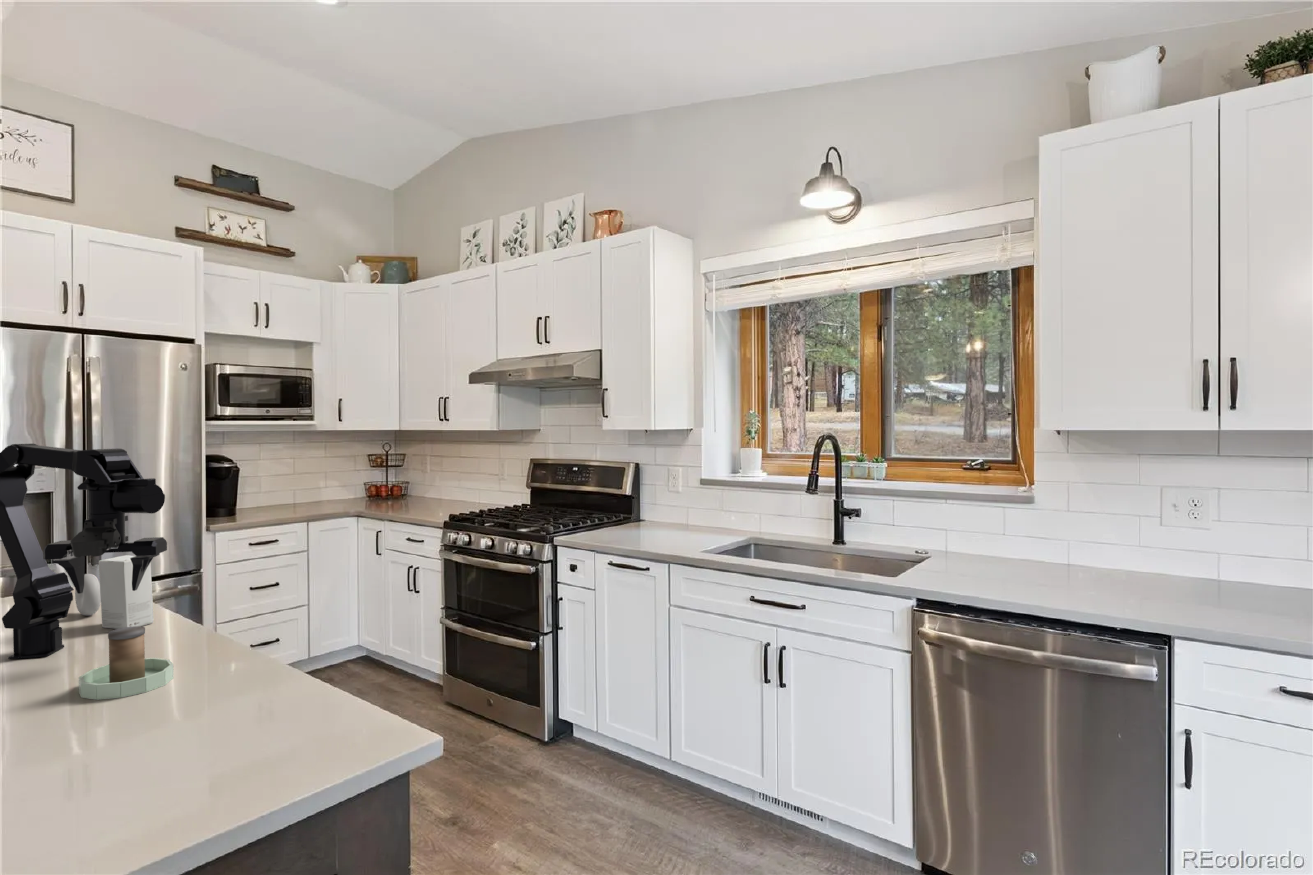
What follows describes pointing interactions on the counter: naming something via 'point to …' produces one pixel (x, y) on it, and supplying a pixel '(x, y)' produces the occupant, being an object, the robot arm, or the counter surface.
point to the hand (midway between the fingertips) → (107, 591)
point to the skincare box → (124, 594)
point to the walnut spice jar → (126, 654)
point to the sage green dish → (99, 687)
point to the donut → (89, 596)
